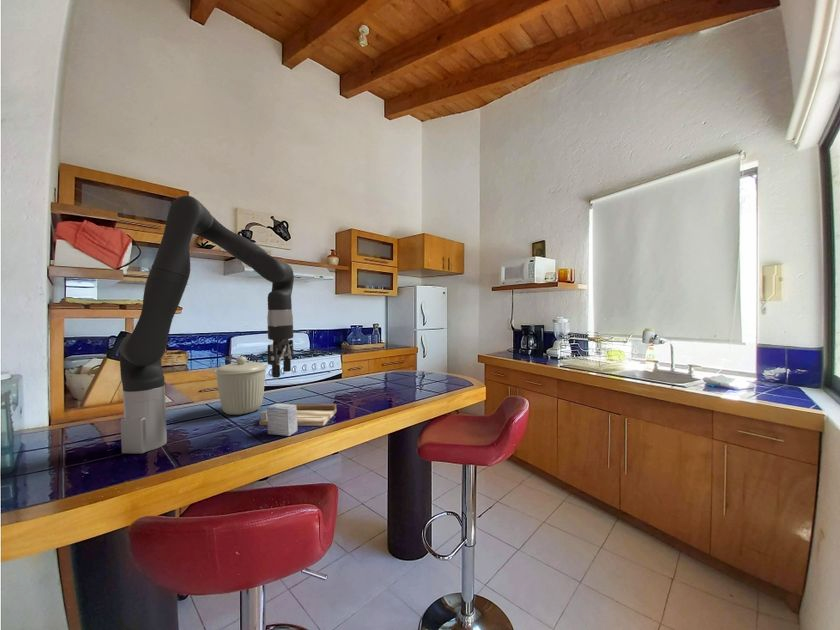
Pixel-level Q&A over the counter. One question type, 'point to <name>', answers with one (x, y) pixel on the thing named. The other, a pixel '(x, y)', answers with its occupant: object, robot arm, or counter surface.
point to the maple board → (310, 417)
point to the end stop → (264, 415)
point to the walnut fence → (315, 406)
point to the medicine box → (282, 419)
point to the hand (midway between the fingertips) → (282, 374)
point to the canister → (241, 386)
